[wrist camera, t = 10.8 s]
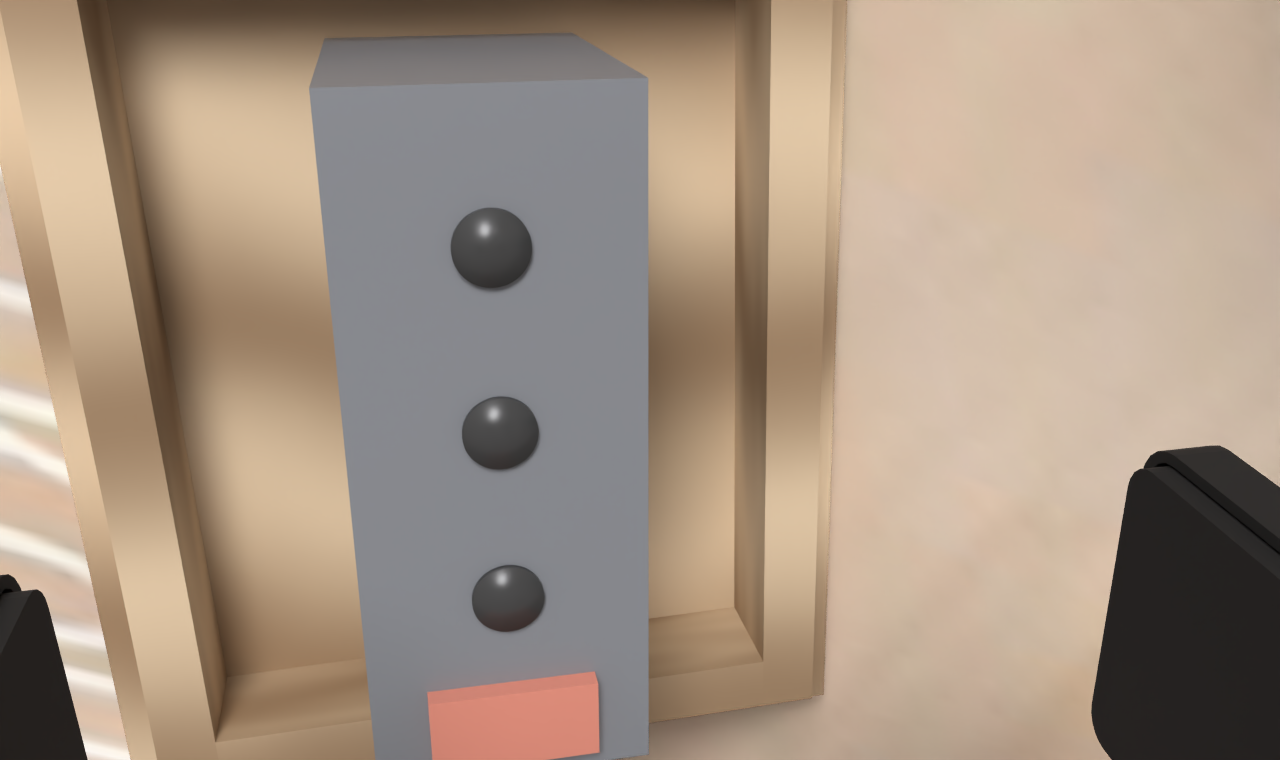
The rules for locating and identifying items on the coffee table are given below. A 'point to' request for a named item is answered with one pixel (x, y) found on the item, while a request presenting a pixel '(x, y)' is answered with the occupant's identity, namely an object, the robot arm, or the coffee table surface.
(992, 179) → the coffee table surface
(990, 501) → the coffee table surface
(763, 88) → the wooden tray
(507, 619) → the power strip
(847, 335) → the coffee table surface
